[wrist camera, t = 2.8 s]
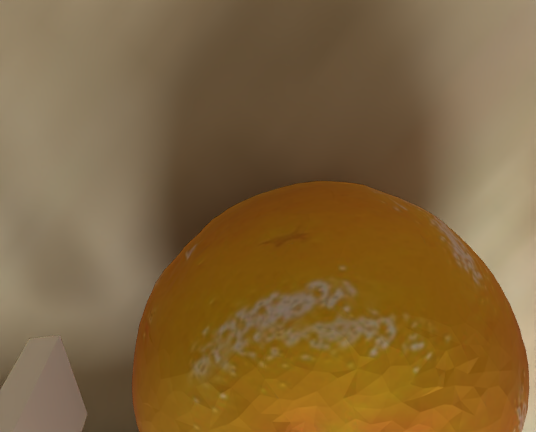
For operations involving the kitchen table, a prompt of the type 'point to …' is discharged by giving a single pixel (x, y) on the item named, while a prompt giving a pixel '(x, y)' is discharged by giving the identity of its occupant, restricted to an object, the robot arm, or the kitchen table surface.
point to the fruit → (328, 323)
